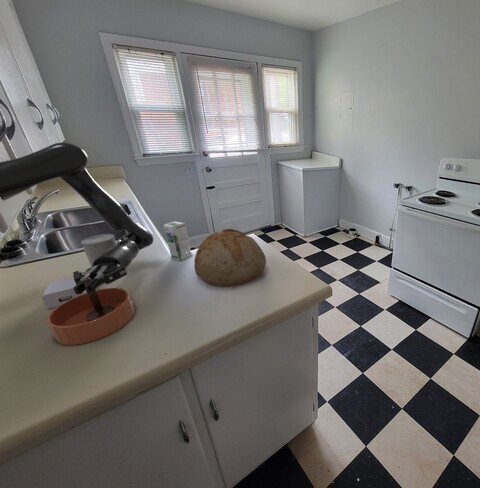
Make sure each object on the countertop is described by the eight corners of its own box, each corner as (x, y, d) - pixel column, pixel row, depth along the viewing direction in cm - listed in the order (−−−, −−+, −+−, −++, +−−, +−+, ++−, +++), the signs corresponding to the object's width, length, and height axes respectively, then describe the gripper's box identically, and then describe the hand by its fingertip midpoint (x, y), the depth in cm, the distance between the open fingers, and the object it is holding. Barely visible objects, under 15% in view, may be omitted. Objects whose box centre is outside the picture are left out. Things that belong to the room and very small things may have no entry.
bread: (189, 266, 104) (181, 230, 98) (247, 250, 116) (243, 217, 110) (208, 298, 84) (199, 255, 78) (275, 275, 97) (272, 237, 91)
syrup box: (170, 258, 110) (162, 225, 104) (183, 252, 115) (175, 220, 109) (180, 261, 108) (172, 227, 102) (192, 255, 113) (185, 222, 107)
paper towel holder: (84, 326, 72) (66, 287, 67) (90, 312, 77) (74, 275, 72) (113, 318, 74) (98, 280, 70) (117, 306, 80) (103, 270, 75)
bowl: (44, 354, 64) (34, 336, 62) (67, 313, 78) (59, 297, 76) (130, 330, 71) (124, 314, 69) (137, 297, 85) (132, 282, 83)
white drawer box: (91, 278, 96) (87, 298, 85) (57, 286, 91) (47, 309, 80) (86, 266, 94) (81, 286, 83) (51, 274, 89) (40, 295, 78)
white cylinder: (124, 260, 109) (114, 232, 104) (124, 270, 101) (113, 240, 97) (94, 267, 104) (82, 237, 99) (92, 277, 97) (79, 246, 92)
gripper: (85, 252, 82) (44, 281, 66) (135, 247, 84) (107, 275, 69) (94, 273, 85) (56, 306, 69) (142, 268, 87) (116, 299, 72)
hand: (82, 290), depth 69 cm, fingers closed on paper towel holder
